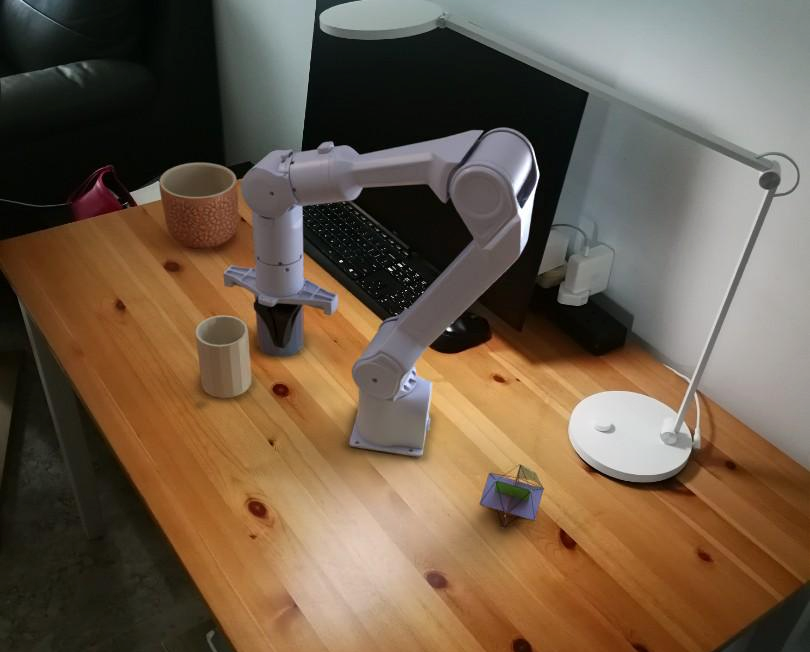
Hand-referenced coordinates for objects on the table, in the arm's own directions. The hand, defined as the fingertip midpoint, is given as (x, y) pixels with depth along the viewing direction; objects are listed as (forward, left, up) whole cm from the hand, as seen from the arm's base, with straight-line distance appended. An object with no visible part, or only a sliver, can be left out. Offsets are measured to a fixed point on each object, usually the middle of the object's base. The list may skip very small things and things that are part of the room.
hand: (282, 343), depth 109 cm
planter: (+24, -37, -10) cm, 45 cm away
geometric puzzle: (-31, +14, -10) cm, 36 cm away
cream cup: (+9, -2, -10) cm, 13 cm away
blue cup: (+4, -12, -10) cm, 16 cm away
